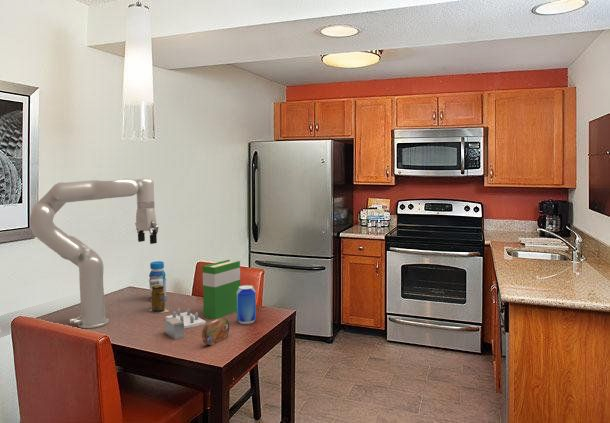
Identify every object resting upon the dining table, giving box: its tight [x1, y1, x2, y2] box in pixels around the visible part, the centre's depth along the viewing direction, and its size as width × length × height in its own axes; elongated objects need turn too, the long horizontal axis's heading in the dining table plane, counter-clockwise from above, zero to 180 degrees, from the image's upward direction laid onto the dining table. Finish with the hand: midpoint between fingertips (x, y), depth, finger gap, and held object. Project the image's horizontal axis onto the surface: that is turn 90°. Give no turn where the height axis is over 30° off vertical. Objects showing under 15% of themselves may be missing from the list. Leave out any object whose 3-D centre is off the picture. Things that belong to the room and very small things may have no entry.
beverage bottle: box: [148, 260, 167, 302], centre depth 244 cm, size 8×8×20 cm
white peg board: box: [165, 307, 207, 330], centre depth 211 cm, size 11×18×4 cm, turn 39°
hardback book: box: [202, 259, 241, 320], centre depth 222 cm, size 18×7×24 cm, turn 147°
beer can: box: [236, 284, 257, 325], centre depth 210 cm, size 8×8×16 cm
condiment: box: [148, 285, 170, 314], centre depth 226 cm, size 7×8×12 cm
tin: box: [201, 317, 230, 346], centre depth 187 cm, size 15×3×8 cm, turn 153°
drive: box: [164, 317, 185, 340], centre depth 194 cm, size 4×10×6 cm, turn 39°
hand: (147, 242), depth 217 cm, fingers open, 9 cm apart
